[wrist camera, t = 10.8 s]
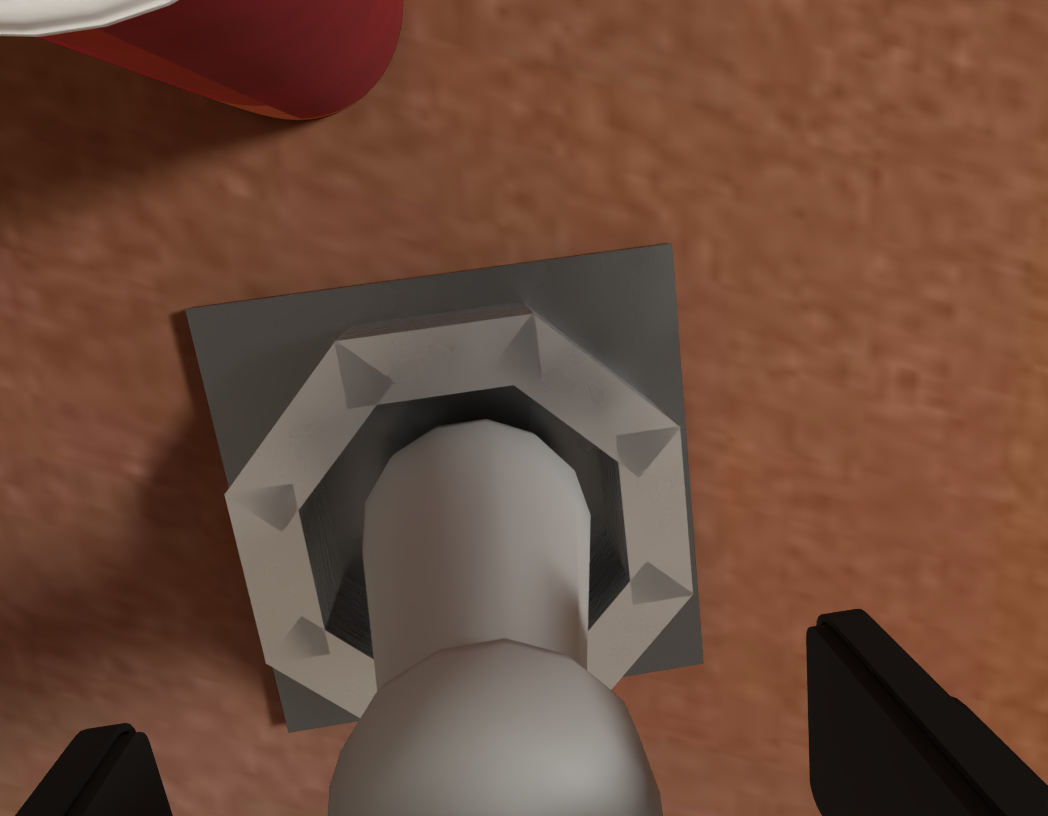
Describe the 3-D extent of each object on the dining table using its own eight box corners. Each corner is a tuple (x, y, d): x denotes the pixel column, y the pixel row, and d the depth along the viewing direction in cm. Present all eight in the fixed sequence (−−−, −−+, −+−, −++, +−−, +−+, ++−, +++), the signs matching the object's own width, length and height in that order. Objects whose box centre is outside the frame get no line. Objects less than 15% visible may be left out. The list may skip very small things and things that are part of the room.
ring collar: (193, 306, 19) (134, 323, 16) (665, 242, 20) (709, 245, 17) (293, 719, 23) (262, 809, 19) (697, 652, 23) (739, 727, 20)
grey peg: (562, 594, 22) (706, 1097, 9) (369, 586, 21) (236, 1110, 8) (585, 406, 20) (789, 690, 8) (379, 391, 20) (238, 670, 7)
